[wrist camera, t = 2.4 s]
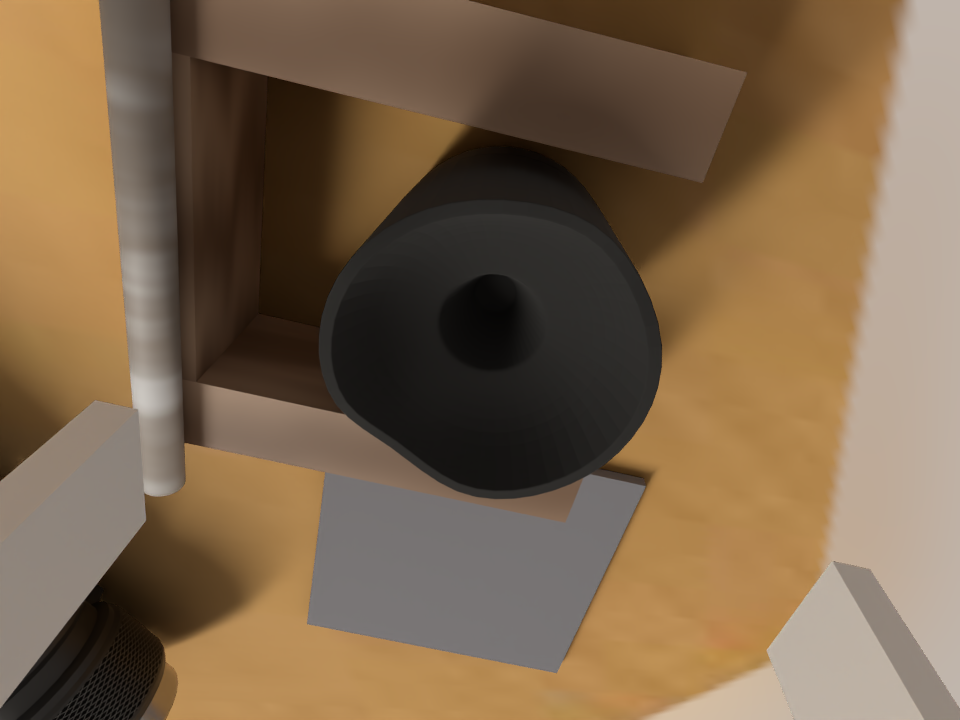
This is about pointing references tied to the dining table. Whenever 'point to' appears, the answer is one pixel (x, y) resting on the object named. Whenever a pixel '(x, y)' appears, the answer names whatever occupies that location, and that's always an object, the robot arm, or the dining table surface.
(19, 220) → the dining table surface
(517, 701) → the dining table surface
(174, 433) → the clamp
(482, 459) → the pen holder
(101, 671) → the muzzle brake
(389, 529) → the mat
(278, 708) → the dining table surface
